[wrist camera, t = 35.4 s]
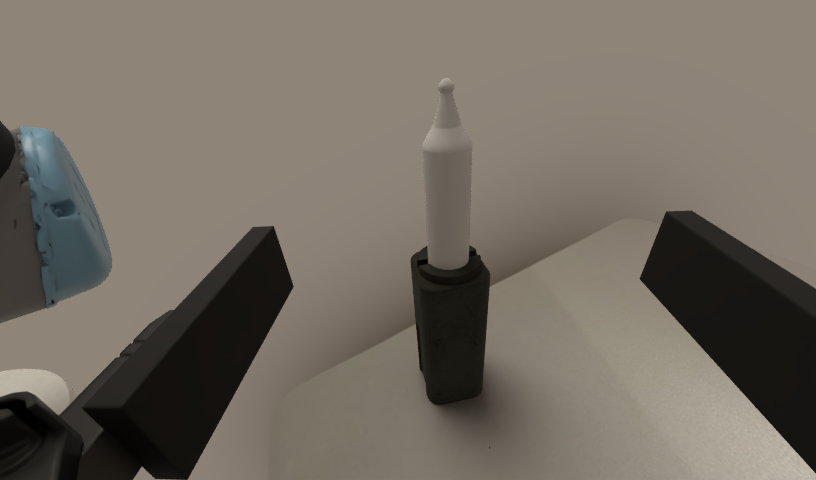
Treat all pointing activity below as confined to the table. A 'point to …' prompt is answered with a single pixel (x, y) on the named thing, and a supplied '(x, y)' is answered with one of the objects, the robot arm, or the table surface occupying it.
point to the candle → (449, 265)
